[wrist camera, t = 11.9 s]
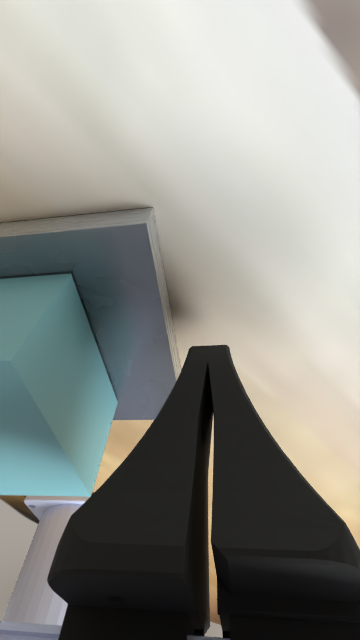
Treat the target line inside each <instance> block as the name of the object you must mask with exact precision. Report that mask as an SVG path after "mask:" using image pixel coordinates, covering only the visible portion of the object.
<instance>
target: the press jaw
mask: <svg viewBox="0 0 360 640" xmlns="http://www.w3.org/2000/svg"><path fill="white" fill-rule="evenodd" d="M117 403H118V402H117V399H116V396H115V394H114V391H113V388H112V385H111V383H110V380H109V377H108V374H107V372H106V369H105V366H104V363H103V361H102V358H101V355H100V352H99V350H98V347H97V344H96V341H95V338H94V336H93V333H92V330H91V327H90V325H89V322H88V319H87V316H86V314H85V311H84V308H83V305H82V303H81V300H80V297H79V294H78V292H77V289H76V286H75V283H74V281H73V278H72V275H71V273H70V274H57V275H44V276H32V277H19V278H6V279H0V495H28V496H81V497H91V495H92V491H93V488H94V484H95V481H96V477H97V474H98V470H99V467H100V463H101V459H102V456H103V452H104V449H105V445H106V442H107V438H108V435H109V431H110V428H111V424H112V420H113V417H114V413H115V410H116V406H117Z"/></svg>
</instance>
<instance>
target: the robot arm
mask: <svg viewBox="0 0 360 640" xmlns="http://www.w3.org/2000/svg"><path fill="white" fill-rule="evenodd" d="M213 414H214V462H213V501H212V530H211V544H212V550H213V556H214V562H215V568H216V574H217V609H218V615H220V620H221V626H222V631H223V638H218V637H205V636H204V634H205V633H206V632H207V630H208V629H209V627H210V608H209V552H208V468H209V456H210V444H211V431H212V419H213ZM24 503H25V504H26V506H27V507H28V508H29V509H30V510H31V511H32V513H33V514H34V515H35V516H36V517H37V518H38V520H39V521H40V522H39V524H38V527H37V530H36V532H35V535H34V537H33V540H32V543H31V545H30V548H29V551H28V553H27V556H26V559H25V561H24V564H23V566H22V569H21V572H20V574H19V577H18V580H17V582H16V585H15V588H14V590H13V593H12V595H11V598H10V601H9V603H8V606H7V609H6V611H5V614H4V616H3V619H2V621H0V640H360V549H359V547H358V545H357V543H356V541H355V540H354V538H353V536H352V534H351V532H350V530H349V529H348V527H347V525H346V523H345V522H344V521H343V520H342V519H341V518H340V517H339V516H338V515H337V513H336V512H335V511H334V510H333V509H332V508H331V507H330V506H329V505H328V504H327V503H326V502H325V501H324V500H323V499H322V497H321V496H320V495H319V494H318V493H317V492H316V491H315V490H314V489H313V487H312V486H311V485H310V484H309V483H308V482H307V480H306V479H305V478H304V477H303V476H302V475H301V473H300V472H299V471H298V470H297V468H296V467H295V466H294V465H293V463H292V462H291V461H290V459H289V458H288V457H287V456H286V454H285V453H284V452H283V451H282V449H281V448H280V447H279V445H278V444H277V442H276V441H275V439H274V438H273V437H272V435H271V434H270V432H269V431H268V429H267V428H266V426H265V425H264V423H263V422H262V420H261V418H260V417H259V415H258V413H257V412H256V410H255V408H254V406H253V405H252V403H251V401H250V399H249V397H248V395H247V394H246V392H245V389H244V387H243V385H242V383H241V381H240V379H239V377H238V374H237V372H236V369H235V367H234V364H233V361H232V358H231V354H230V349H229V347H228V346H227V345H213V346H192V347H191V348H190V349H189V351H188V355H187V358H186V360H185V363H184V365H183V368H182V370H181V372H180V375H179V377H178V379H177V381H176V383H175V385H174V387H173V389H172V391H171V393H170V395H169V396H168V398H167V400H166V402H165V403H164V405H163V407H162V409H161V410H160V412H159V414H158V415H157V417H156V418H155V420H154V421H153V423H152V424H151V426H150V427H149V429H148V430H147V432H146V433H145V434H144V436H143V437H142V439H141V440H140V441H139V442H138V444H137V445H136V446H135V448H134V449H133V450H132V452H131V453H130V454H129V455H128V457H127V458H126V459H125V460H124V461H123V462H122V464H121V465H120V466H119V467H118V468H117V469H116V470H115V471H114V473H113V474H112V475H111V476H110V477H109V478H108V479H107V480H106V481H105V483H104V484H103V485H102V486H101V487H100V488H99V489H98V490H97V491H96V492H95V493H94V494H93V495H92V496H91V497H81V496H26V497H25V499H24Z"/></svg>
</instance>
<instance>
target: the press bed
mask: <svg viewBox="0 0 360 640" xmlns="http://www.w3.org/2000/svg"><path fill="white" fill-rule="evenodd" d="M70 273H71V275H72V278H73V281H74V283H75V286H76V289H77V292H78V294H79V297H80V300H81V303H82V305H83V308H84V311H85V314H86V316H87V319H88V322H89V325H90V327H91V330H92V333H93V336H94V338H95V341H96V344H97V347H98V350H99V352H100V355H101V358H102V361H103V363H104V366H105V369H106V372H107V374H108V377H109V380H110V383H111V385H112V388H113V391H114V394H115V396H116V399H117V402H118V403H117V406H116V410H115V413H114V417H113V420H153V419H155V418H156V417H157V415H158V414H159V412H160V410H161V409H162V407H163V405H164V403H165V402H166V400H167V398H168V396H169V395H170V393H171V391H172V389H173V387H174V385H175V383H176V381H177V379H178V377H179V375H180V372H181V366H180V361H179V355H178V349H177V343H176V337H175V332H174V326H173V320H172V314H171V309H170V303H169V297H168V291H167V285H166V280H165V274H164V268H163V262H162V257H161V251H160V245H159V239H158V233H157V228H156V222H155V216H154V210H153V208H144V209H134V210H124V211H114V212H105V213H95V214H85V215H75V216H66V217H56V218H46V219H36V220H27V221H17V222H7V223H0V279H6V278H19V277H32V276H44V275H57V274H70Z"/></svg>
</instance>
